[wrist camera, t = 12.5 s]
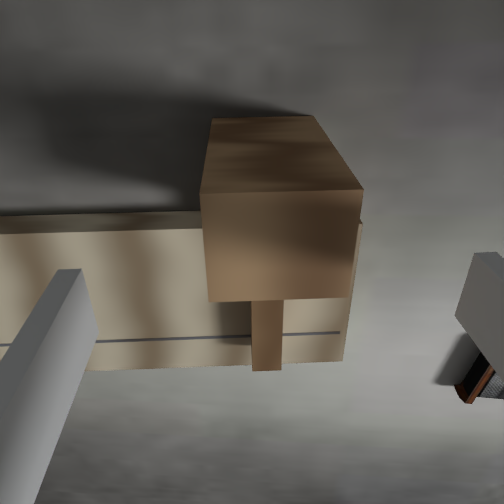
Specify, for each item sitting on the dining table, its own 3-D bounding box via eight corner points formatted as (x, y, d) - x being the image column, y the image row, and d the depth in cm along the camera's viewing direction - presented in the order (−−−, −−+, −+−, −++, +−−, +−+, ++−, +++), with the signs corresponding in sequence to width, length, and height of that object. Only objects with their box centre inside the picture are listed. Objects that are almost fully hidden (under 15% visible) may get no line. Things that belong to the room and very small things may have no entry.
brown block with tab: (224, 323, 33) (221, 454, 23) (212, 117, 24) (199, 193, 15) (299, 320, 33) (326, 449, 23) (313, 115, 24) (363, 189, 15)
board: (-35, 352, 33) (-54, 377, 31) (-105, 219, 27) (-135, 238, 24) (335, 338, 34) (342, 361, 32) (352, 206, 28) (362, 224, 25)
